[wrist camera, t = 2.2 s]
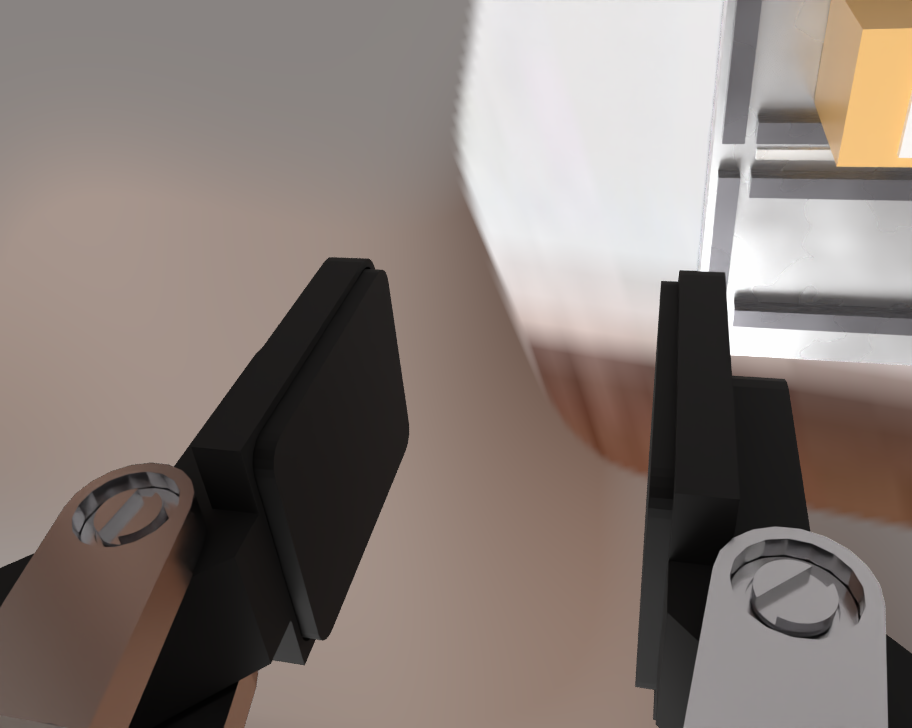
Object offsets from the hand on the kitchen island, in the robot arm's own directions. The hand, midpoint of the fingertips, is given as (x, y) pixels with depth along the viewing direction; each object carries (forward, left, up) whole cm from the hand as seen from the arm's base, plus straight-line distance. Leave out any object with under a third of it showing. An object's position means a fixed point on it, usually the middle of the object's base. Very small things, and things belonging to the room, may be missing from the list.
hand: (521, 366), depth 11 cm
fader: (0, +7, -15) cm, 17 cm away
